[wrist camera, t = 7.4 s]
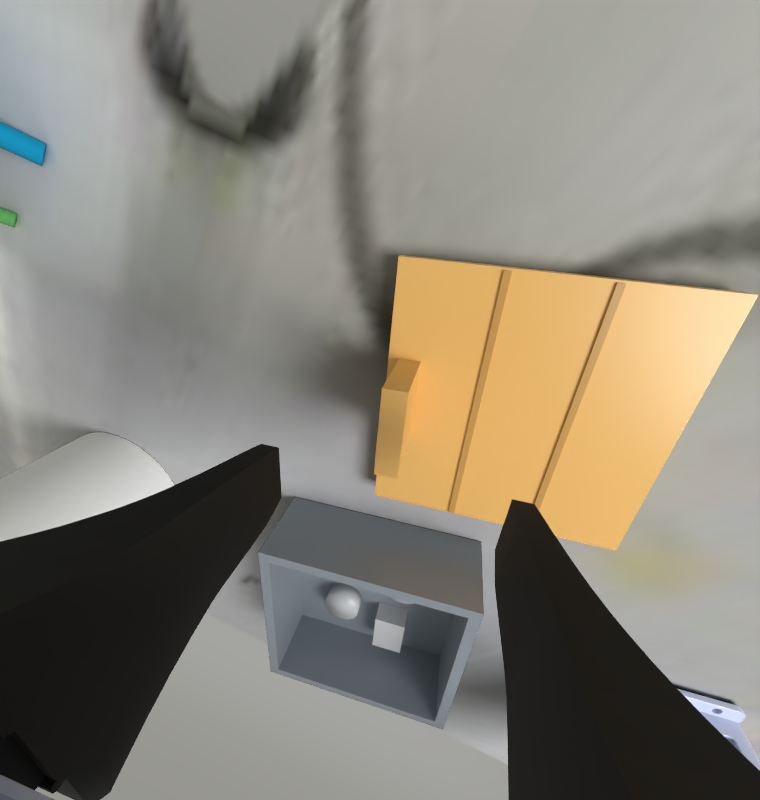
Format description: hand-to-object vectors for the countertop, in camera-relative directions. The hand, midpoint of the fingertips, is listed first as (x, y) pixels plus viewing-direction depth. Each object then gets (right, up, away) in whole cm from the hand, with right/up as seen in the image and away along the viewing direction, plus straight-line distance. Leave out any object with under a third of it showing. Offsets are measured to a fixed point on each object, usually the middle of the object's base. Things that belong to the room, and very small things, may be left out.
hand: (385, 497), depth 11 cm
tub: (0, -10, +14) cm, 17 cm away
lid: (+6, +2, +6) cm, 9 cm away
